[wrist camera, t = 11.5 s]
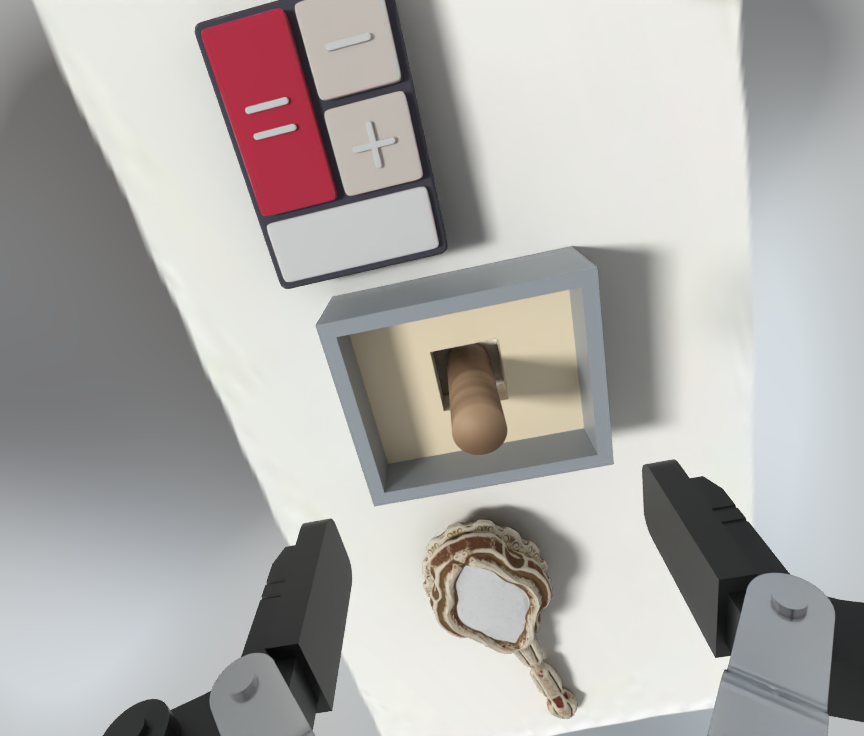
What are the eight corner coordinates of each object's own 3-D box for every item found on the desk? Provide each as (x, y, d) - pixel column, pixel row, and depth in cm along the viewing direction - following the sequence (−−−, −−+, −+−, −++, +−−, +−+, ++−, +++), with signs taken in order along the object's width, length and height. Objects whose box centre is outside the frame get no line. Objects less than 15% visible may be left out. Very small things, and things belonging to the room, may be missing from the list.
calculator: (386, -38, 26) (449, 254, 32) (392, -11, 30) (447, 244, 36) (184, 20, 27) (278, 294, 33) (216, 38, 31) (295, 279, 37)
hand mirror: (518, 746, 55) (387, 577, 41) (519, 687, 60) (401, 518, 46) (621, 744, 51) (515, 558, 37) (613, 681, 56) (516, 495, 42)
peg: (442, 346, 39) (446, 413, 29) (485, 338, 38) (502, 402, 29) (451, 384, 40) (457, 459, 31) (492, 376, 40) (511, 449, 31)
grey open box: (332, 296, 37) (315, 325, 31) (571, 246, 36) (597, 267, 30) (381, 458, 43) (374, 506, 37) (589, 420, 41) (613, 464, 36)
